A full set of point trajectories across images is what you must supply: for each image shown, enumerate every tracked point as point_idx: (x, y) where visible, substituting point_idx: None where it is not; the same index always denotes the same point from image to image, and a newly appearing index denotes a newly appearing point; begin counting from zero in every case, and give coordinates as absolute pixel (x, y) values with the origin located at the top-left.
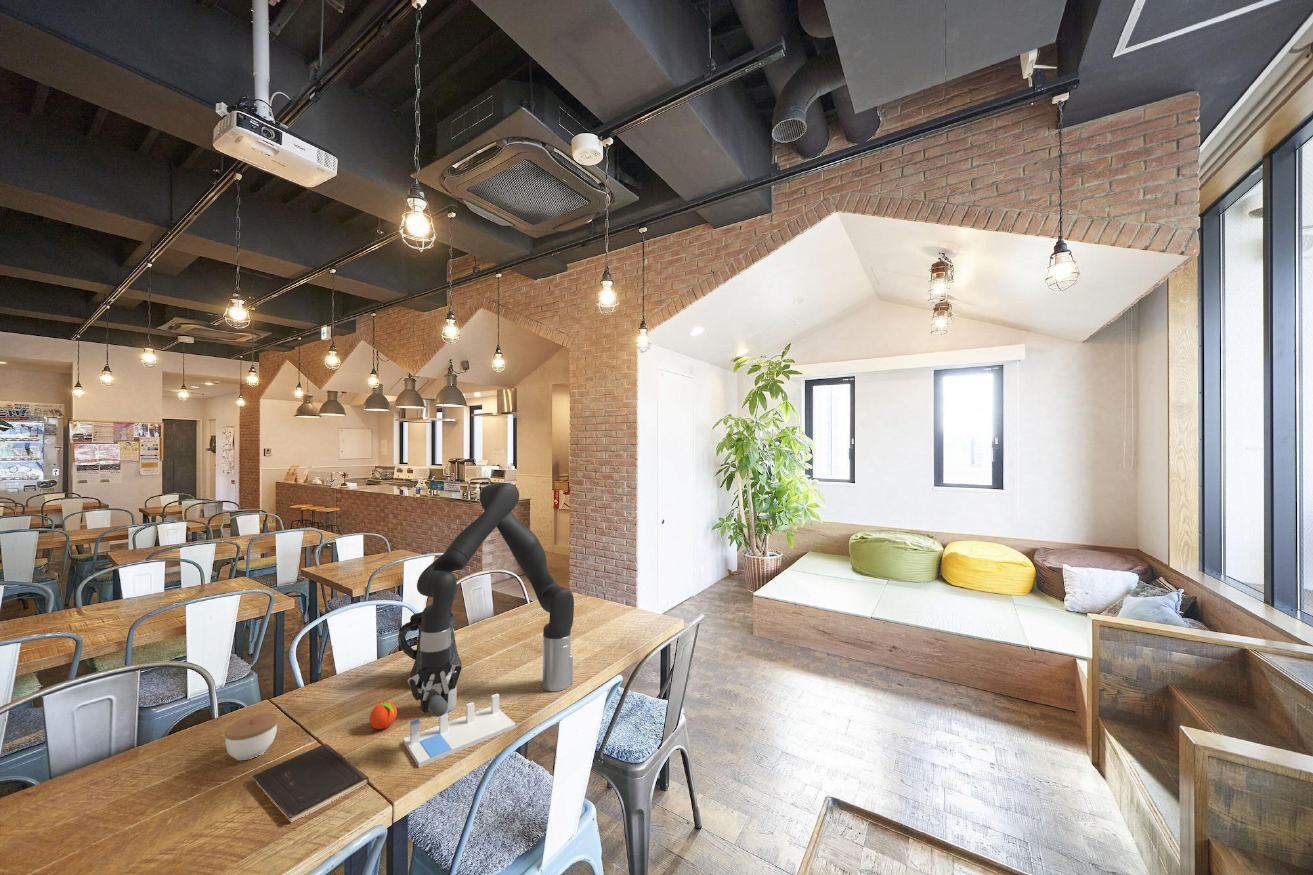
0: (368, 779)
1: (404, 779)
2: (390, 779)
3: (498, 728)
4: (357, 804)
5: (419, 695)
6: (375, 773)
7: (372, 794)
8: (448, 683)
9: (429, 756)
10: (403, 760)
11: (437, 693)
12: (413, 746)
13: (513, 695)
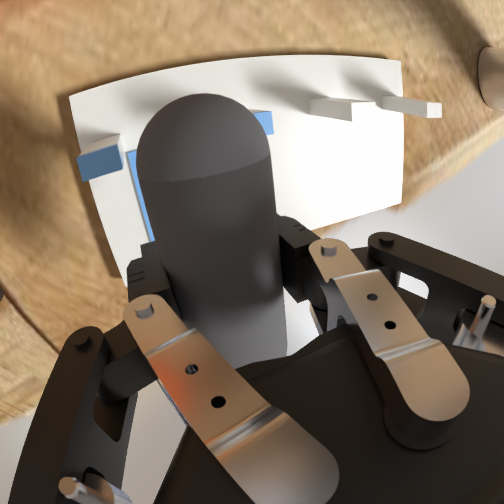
0: (1, 299)
1: (92, 314)
2: (55, 300)
3: (366, 202)
4: (12, 355)
5: (131, 407)
6: (8, 256)
7: (30, 338)
8: (379, 250)
9: None
10: (75, 219)
11: (266, 276)
12: (103, 177)
13: (435, 35)
